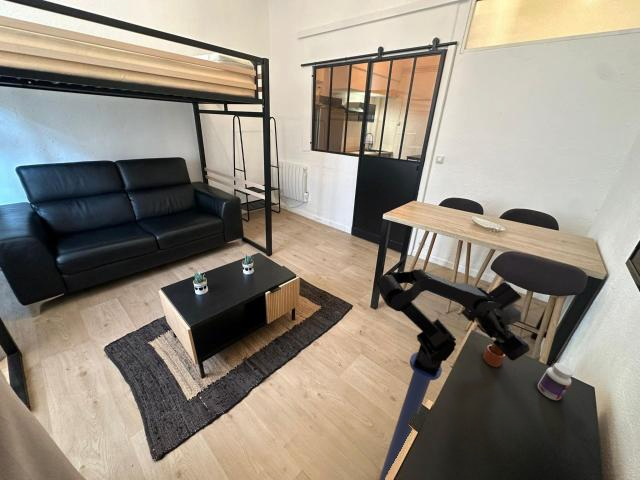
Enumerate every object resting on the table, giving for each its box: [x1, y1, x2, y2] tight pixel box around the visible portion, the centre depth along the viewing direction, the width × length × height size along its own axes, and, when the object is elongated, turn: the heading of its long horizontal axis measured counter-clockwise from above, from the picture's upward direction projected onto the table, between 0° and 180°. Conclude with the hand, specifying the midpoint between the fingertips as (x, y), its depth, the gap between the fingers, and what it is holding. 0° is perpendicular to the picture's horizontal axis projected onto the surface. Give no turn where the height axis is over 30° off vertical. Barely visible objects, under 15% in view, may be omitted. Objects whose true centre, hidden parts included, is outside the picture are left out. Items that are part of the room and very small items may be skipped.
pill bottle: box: [537, 362, 574, 401], centre depth 73 cm, size 5×5×10 cm
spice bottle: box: [490, 327, 512, 356], centre depth 81 cm, size 3×3×13 cm
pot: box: [482, 344, 506, 368], centre depth 83 cm, size 5×5×4 cm
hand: (503, 342), depth 81 cm, fingers closed on spice bottle, 3 cm apart
